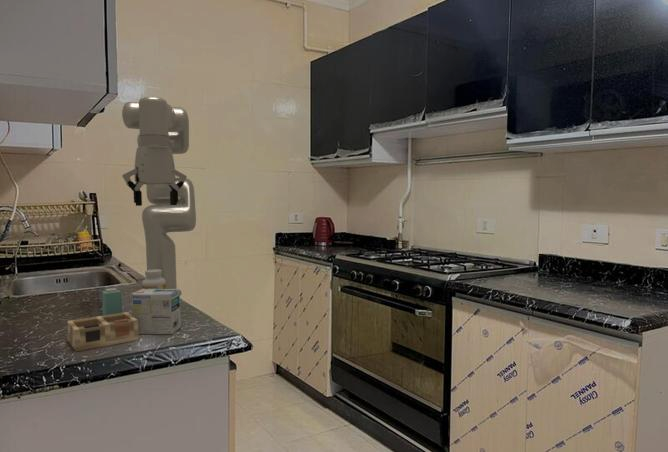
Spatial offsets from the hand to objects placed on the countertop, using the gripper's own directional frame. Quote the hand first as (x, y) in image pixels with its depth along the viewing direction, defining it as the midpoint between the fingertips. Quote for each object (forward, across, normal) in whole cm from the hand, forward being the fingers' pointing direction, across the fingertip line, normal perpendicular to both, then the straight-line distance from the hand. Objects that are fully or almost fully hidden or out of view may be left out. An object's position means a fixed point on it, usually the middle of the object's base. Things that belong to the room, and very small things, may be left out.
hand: (156, 205), depth 137 cm
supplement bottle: (+32, -2, -11) cm, 34 cm away
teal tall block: (+33, +12, -2) cm, 35 cm away
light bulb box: (+33, +4, +8) cm, 34 cm away
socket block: (+33, +17, +8) cm, 38 cm away
